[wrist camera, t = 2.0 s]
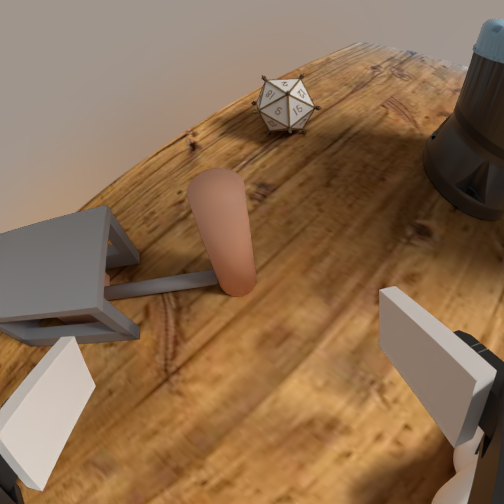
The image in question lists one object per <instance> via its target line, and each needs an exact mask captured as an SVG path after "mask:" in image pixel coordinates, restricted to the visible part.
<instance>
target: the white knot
mask: <svg viewBox="0 0 504 504" xmlns="http://www.w3.org/2000/svg"><path fill="white" fill-rule="evenodd" d="M483 434H484V432H483V431H482V429H481V428H480V427H479V426H478V427H477V430H476V432H475V435H474V437H473V439H471V440H469V441H467V442H465V443H463V444H461V445H459V446H457V447H455V449H454V454H453V463H454V467H455V470H456V475H455V476H454V477H452V478H451V479H450V480H449V481H448V482H446V483H445V484H444V485H443V486H442V487H441V488H440V489H439V490H438V491H437V493H436V495H435V496H434V498H433V500H432V503H431V504H467V502H468V498H469V495H470V491H471V487H472V483H473V479H474V474H475V470H476V465H477V460H478V455H479V452H478V454H477V455H475V452H476V449H477V447H478V445H479V443H480V441H481V438H482V436H483Z"/></svg>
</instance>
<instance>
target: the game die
mask: <svg viewBox="0 0 504 504" xmlns="http://www.w3.org/2000/svg"><path fill="white" fill-rule="evenodd" d="M303 77H304V73H303V74H300V77H299V78H293V79H273V80H267V79H266V77H265V76H263V75H262V79H263V80H264V81H265V83H264V85H263V87H262V90H261V92H260V95H259V97H258V100H257V102H254V101H253V102H252V103H251V104H252V105H257V109H258V110H257V109H255V110H254V111H253V113H255V114H256V113H258V112H259V114H260V116H261V117H262V119H263V121H264V123H265V125H266V126H267V128H268V130H269V131H268V132H267V133H266V136H269V135H270V134H271V132H272V131H286V130H287V131H288V132H289V133H290V134H291V132H292V130H302V132H303V133H304V134H306V131H305V129H303V128H304V126H305V124H306V123H307V121H308V119H309V118H310V116H311V115H312V113H313V111H314V110H315V109H316V110H320V109H322V108H321V107H320V106H316V107H315V105H314V103H313V99H311V97H310V95H309V93H308V91H307V89H306V87H305V85H304V84H303V82H302V78H303Z"/></svg>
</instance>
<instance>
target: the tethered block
mask: <svg viewBox="0 0 504 504" xmlns="http://www.w3.org/2000/svg"><path fill="white" fill-rule="evenodd" d="M187 198H188V201H189V204H190V206H191V209H192V212H193V215H194V217H195V220H196V223H197V226H198V228H199V231H200V234H201V237H202V239H203V242H204V245H205V248H206V250H207V253H208V256H209V258H210V261H211V264H212V266H213V270H207V271H201V272H194V273H188V274H182V275H175V276H169V277H163V278H156V279H150V280H143V281H137V282H130V283H124V284H117V285H111V286H109V284H110V276H109V275H108V274H107V273H106V272H105V280H104V298H105V299H106V300H107V301H108V302H109V300H113V299H120V298H127V297H134V296H142V295H149V294H156V293H162V292H169V291H176V290H183V289H189V288H196V287H202V286H209V285H215V284H218V282H219V285H220V287H221V289H222V290H223V291H224V292H225V293H226V294H228V295H230V296H236V297H238V296H243V295H246V294H248V293H249V292H250V291H251V290H252V289H253V288H254V286H255V284H256V279H257V278H256V270H255V262H254V255H253V247H252V240H251V232H250V225H249V217H248V210H247V202H246V195H245V187H244V182H243V179H242V178H241V176H240V175H239V174H238V173H236V172H234V171H232V170H230V169H226V168H213V169H209V170H206V171H204V172H202V173H200V174H198V175H197V176H196V177H195V178H194V179H193V180H192V181H191V182H190V184H189V186H188V189H187ZM57 318H58V319H60V320H62V321H63V322H65V323H66V324H68V325H74V324H85V323H95V322H101V321H99V320H98V319H97V318H95V317H94V316H92V315H91V314H90V313H89V314H81V315H71V316H62V317H57Z"/></svg>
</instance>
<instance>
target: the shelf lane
mask: <svg viewBox="0 0 504 504" xmlns="http://www.w3.org/2000/svg"><path fill="white" fill-rule="evenodd" d="M108 239H109V240H110V241H111V243H112V244H113V245H109V246H107V245H108ZM139 263H140V253H139V252H138V250H137V249H136V247H135V246H134V244H133V243H132V242H131V240H130V239H129V237H128V236H127V234H126V233H125V231H124V230H123V228H122V227H121V225H120V224H119V222H118V221H117V219H116V218H115V216H114V215H113V213H112V212H111V210H110V209H109V207H108V206H107V205H105V206H100V207H96V208H92V209H88V210H84V211H80V212H76V213H72V214H68V215H64V216H61V217H58V218H53V219H50V220H46V221H42V222H39V223H35V224H32V225H28V226H25V227H22V228H18V229H15V230H12V231H8V232H5V233H2V234H0V331H1V332H3V333H5V334H7V335H9V336H11V337H13V338H15V339H17V340H19V341H21V342H23V343H25V344H27V345H29V346H31V347H32V346H54V345H55V343H56V342H57V341H58V340H59V339H60V338H61V337H69V336H74V337H75V339H76V342H77V344H88V343H102V342H114V341H125V340H136V339H140V333H139V326H137V325H136V324H135V323H134V322H132V321H131V320H130V319H129V318H127V317H126V316H125V315H124V314H123V313H121V312H120V311H119V310H118V309H117V308H115V307H114V306H113V305H112V304H111V303H110V302H108V301H107V300H106V299H105V298H104V280H105V269H109V268H115V267H121V266H127V265H133V264H139ZM89 313H90V314H91V315H92V316H94V317H95V318H97V319H98V320H99V321H101V322H95V323H85V324H75V325H64V326H53V327H41V328H40V320H41V319H43V318H53V317H62V316H71V315H81V314H89Z"/></svg>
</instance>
